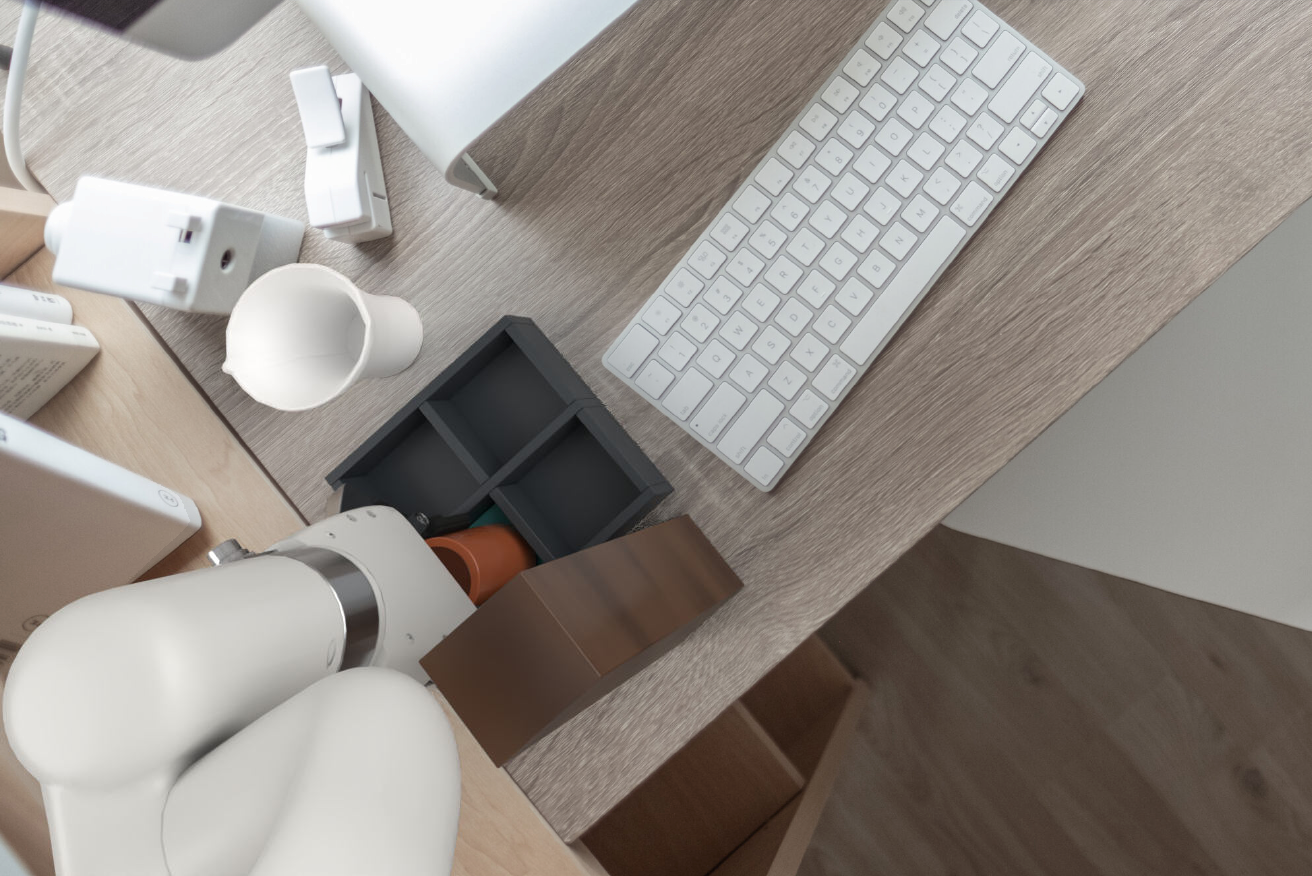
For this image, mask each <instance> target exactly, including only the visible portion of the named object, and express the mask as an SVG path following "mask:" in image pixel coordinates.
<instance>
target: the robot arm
mask: <svg viewBox="0 0 1312 876" xmlns="http://www.w3.org/2000/svg"><path fill="white" fill-rule="evenodd" d="M323 515H324V516H323V519H321V520H318V521H317V522H314V523H313V524H310V525H308V526H305V527H303V528H301V529H299V530H297V531H295V532H293V533H291V534H289V535H287V536H286V537H284V538H282V539H280V540H278V541H277V542H274V543H273V544H272V545H270V546H268V547H267V548H265V549H264V550H263V551H261V552H257V553H256V552H255V551H254V550H252V551H249V549H248V548H243V547H242V546H241V545H240V543H239V541H238V540H237V539H236V538H229V539H227V540H225V541H223V542H221V543H219V544H218V545H216V546H215V547H214V548H212V549H211V550H210V551H209V552H208V553H207V555H206V558H207V560H208V561H209V563H210V564H211V565H212V566H207V567H202V568H199V569H194V570H190V571H184V572H180V573H175V574H170V575H166V576H162V577H158V578H152V579H149V580H143V581H140V582H139V581H138V582H135V583H131V584H130V583H129V584H126V585H121V586H116V587H111V588H109V589H105V590H101V591H98V592H94V593H91V594H88V595H85V596H83V597H80V598H78V599H75V600H74V601H72V602H70V603H68V604H66V605H65V606H63V607H62V608H60V609H58V610H57V611H55V612H54V613H52V614H50V616H49V617H47V618H46V619H45V620H44V621H43V622H41V624H39V626H37V627H36V628H35V629H34V630H33V631H32V632H31V634H30V635H29V636H28V637H27V639H26V640H25V642H24V643H23V644H22V645H21V647H20V649H19V651H18V653H17V654H16V656H15V658H14V660H13V662H12V663H11V665H10V667H9V669H8V670H9V671H8V673H7V677H6V680H5V683H4V689H3V695H2V720H3V727H4V732H5V735H6V738H7V741H8V744H9V746H10V748H11V750H12V752H13V754H14V755H15V757H16V759H17V760H18V762H19V763H20V764H21V765H22V767H23V768H24V769H25V770H26V771H27V772H28V773H29V774H30V775H31V776H33V778H34V779H36V780H37V782H38V783H39V785H40V786H39V787H40V790H41V795H42V801H43V806H44V810H45V811H44V812H45V816H46V820H47V826H48V830H49V831H48V832H49V838H50V846H51V852H52V858H53V859H52V860H53V867H54V873H55V876H452V870H453V864H454V858H455V852H456V846H457V841H458V840H457V839H458V833H459V825H460V816H461V803H462V801H461V800H462V799H461V796H462V774H461V771H462V770H461V760H460V754H459V749H458V744H457V740H456V736H455V733H454V730H453V726H452V724H451V721H450V720H449V718H448V716H447V714H446V711H445V710H444V708H443V707H442V705H441V704H440V702H439V701H438V699H437V697H436V696H435V695H434V694H433V693H432V691H433V690H435V689H436V688H437V687H436V685H435V684H434V682H433V681H432V680H431V678H430V677H429V676H428V674H427V673H426V672H425V670H424V669H423V668H422V666H421V665H420V664H419V660H420V659H421V658H422V657H423V656H425V655H426V654H427V653H428V652H429V651H430V650H431V649H433V648H434V647H435V646H436V645H437V644H438V643H439V642H441V641H442V640H443V639H444V638H445V637H446V636H447V635H449V634H450V633H451V632H452V631H453V630H454V629H455V628H456V627H458V626H459V625H460V624H461V623H462V622H463V621H464V620H466V619H467V618H468V617H469V616H470V615H471V614H472V613H474V612H475V611H476V610H477V609H478V608H479V607H480V606H482V605H474V604H473V603H472V601H471V600H470V599H469V597H468V596H467V595H466V593H465V592H464V591H463V589H462V588H461V587H460V585H459V584H458V583H457V582H456V580H455V579H454V578H453V576H452V575H451V574H450V573H449V571H448V570H447V569H446V567H445V566H444V565H443V564H442V562H441V561H440V560H439V559H438V557H437V556H436V555H435V554H434V552H433V551H432V550H431V548H430V547H429V546H428V545H427V543H426V542H425V541H424V540H426V539H429V538H433V537H437V536H441V535H445V534H449V533H453V532H457V531H461V530H464V529H465V528H466V527H467V526H468V525H469V524H470V522H469V521H470V518H469V517H468V516H467V514H466V513H461V514H457V515H452V516H448V517H444V518H443V517H442V516H441V515H436V516H432V517H426V516H425V515H424V514H423V513H422V512H420V511H414V512H413V513H412V514H411V515H410V516H409V515H407V514H405V513H403V512H402V511H400V510H398V509H396V508H395V507H393V506H391V505H390V504H389V503H386V502H384V501H381V500H378V501H377V502H376V503H375V502H373V501H372V498H371V497H370V496H368V495H366V494H365V493H363V492H362V491H360V490H358V489H357V488H355V487H354V486H352V485H350V484H348V483H344V484H343V485H342V486H341V487H339V488H338V489H337V490H336V491H334V492H333V493H331V494H330V495H329V496H328V497H327V498H326V503H325V509H324V514H323Z"/></svg>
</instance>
